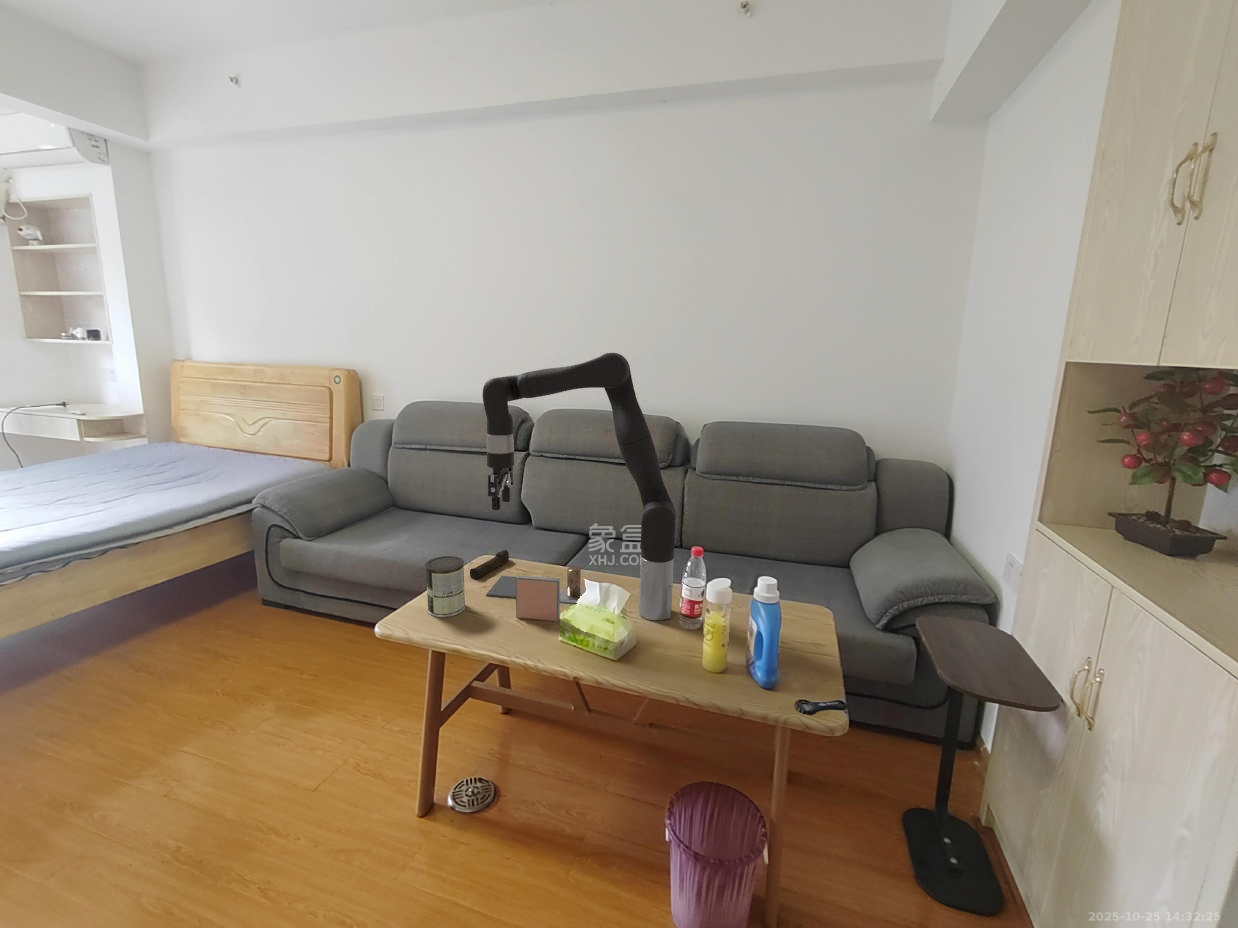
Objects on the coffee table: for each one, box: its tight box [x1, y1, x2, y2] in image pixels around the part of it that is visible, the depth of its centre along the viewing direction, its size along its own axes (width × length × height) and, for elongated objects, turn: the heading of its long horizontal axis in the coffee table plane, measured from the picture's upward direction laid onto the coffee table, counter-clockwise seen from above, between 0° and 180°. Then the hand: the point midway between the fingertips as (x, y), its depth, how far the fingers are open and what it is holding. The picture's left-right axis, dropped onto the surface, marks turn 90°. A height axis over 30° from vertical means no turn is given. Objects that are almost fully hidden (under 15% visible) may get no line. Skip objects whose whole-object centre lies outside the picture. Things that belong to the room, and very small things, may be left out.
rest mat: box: [485, 575, 517, 599], centre depth 173 cm, size 14×14×1 cm
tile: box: [515, 574, 561, 622], centre depth 153 cm, size 12×2×12 cm, turn 83°
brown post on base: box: [560, 566, 586, 604], centre depth 167 cm, size 8×8×9 cm
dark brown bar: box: [469, 549, 510, 581], centre depth 187 cm, size 19×4×5 cm, turn 153°
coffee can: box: [424, 555, 466, 618], centre depth 157 cm, size 10×10×14 cm
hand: (501, 505), depth 158 cm, fingers open, 8 cm apart
